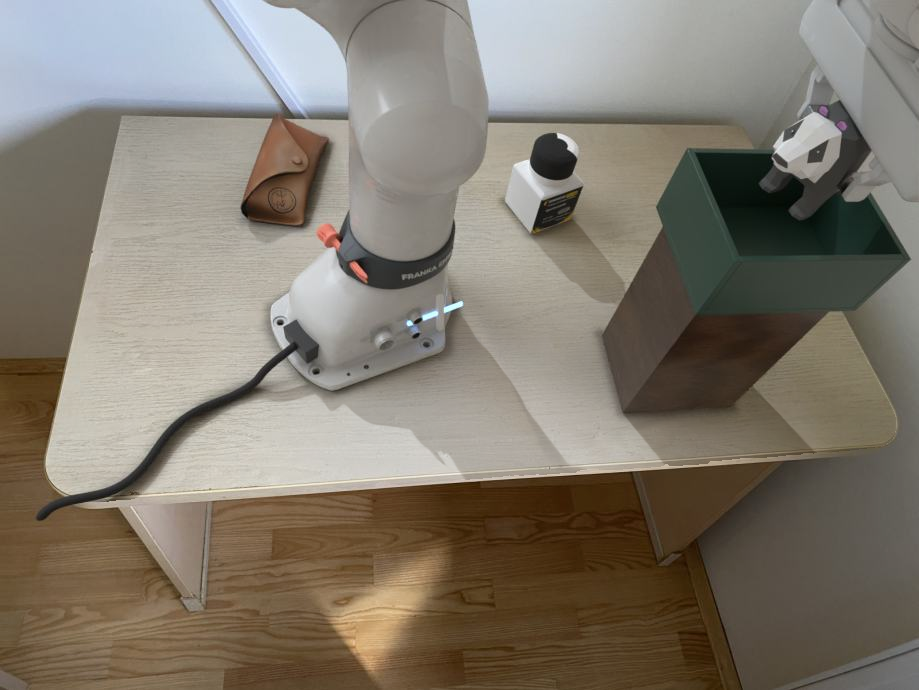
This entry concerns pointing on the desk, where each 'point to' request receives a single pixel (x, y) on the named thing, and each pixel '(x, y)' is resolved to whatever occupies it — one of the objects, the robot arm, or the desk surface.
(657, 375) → the stand
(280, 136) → the sunglasses case
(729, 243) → the bin
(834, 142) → the giant panda
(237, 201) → the desk surface
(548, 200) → the medicine bottle
